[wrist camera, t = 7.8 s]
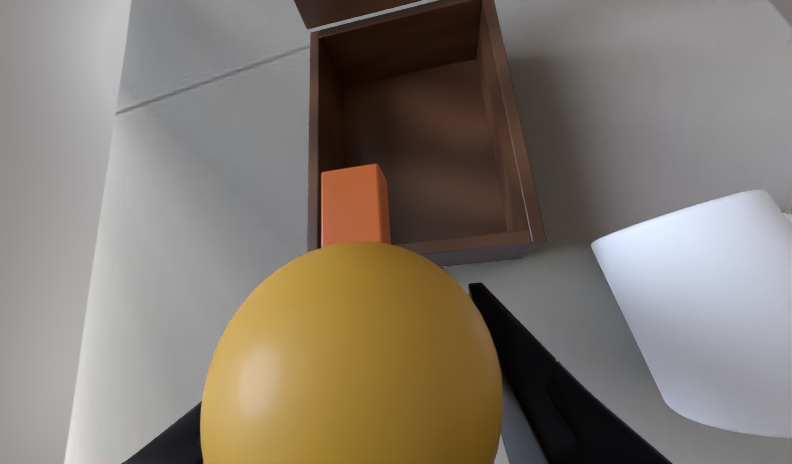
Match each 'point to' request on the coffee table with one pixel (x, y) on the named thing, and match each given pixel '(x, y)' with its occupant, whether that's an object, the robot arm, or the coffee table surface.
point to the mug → (712, 308)
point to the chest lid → (341, 9)
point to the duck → (354, 353)
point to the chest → (427, 130)
